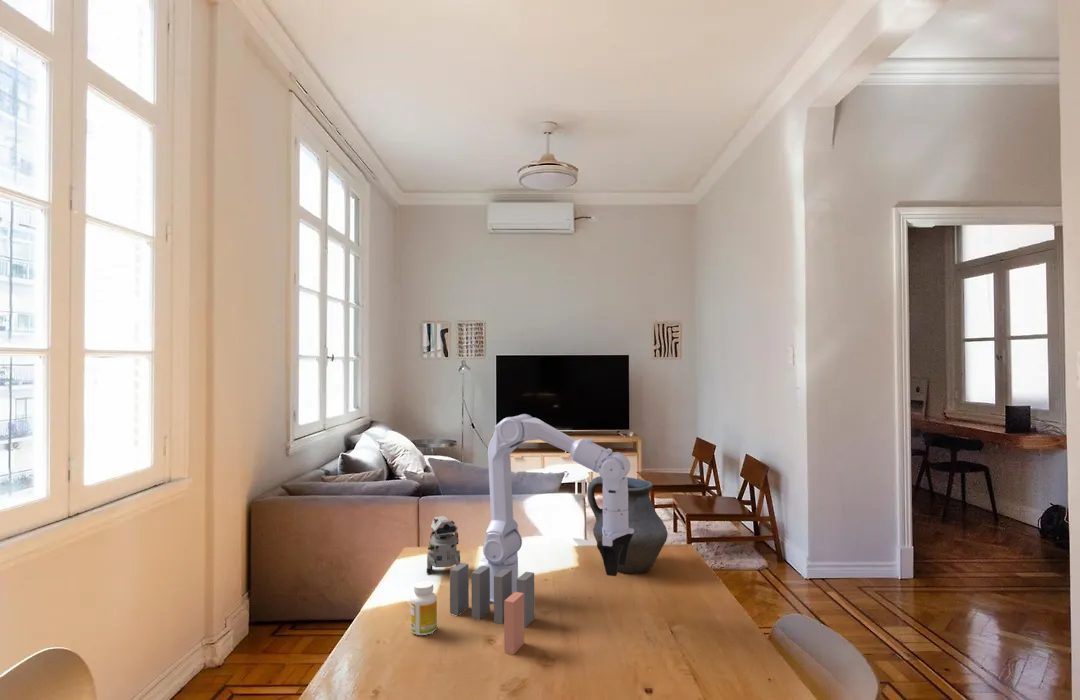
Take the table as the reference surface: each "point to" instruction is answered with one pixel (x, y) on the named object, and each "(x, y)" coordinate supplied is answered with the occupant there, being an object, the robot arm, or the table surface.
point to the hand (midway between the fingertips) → (616, 569)
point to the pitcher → (635, 525)
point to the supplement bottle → (423, 609)
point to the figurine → (443, 544)
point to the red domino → (513, 622)
